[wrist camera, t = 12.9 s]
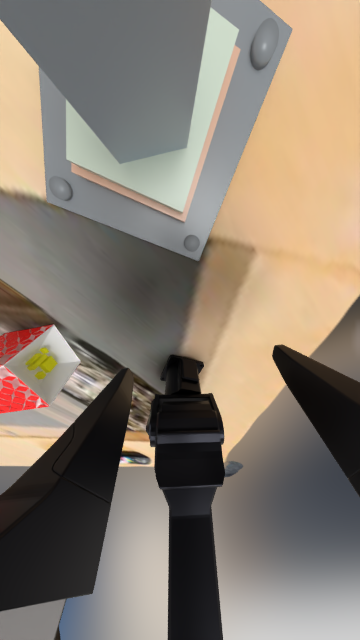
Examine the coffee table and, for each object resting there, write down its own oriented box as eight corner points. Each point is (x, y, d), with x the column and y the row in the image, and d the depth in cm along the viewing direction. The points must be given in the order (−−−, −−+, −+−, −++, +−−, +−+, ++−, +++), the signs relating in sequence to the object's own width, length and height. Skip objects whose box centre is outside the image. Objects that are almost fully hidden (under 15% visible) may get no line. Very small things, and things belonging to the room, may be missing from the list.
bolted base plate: (197, 260, 19) (203, 267, 15) (52, 202, 15) (17, 195, 12) (285, 41, 11) (335, -43, 8) (36, -167, 8) (-73, -480, 4)
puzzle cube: (81, 361, 27) (50, 406, 20) (39, 368, 27) (-5, 414, 20) (53, 323, 23) (2, 364, 16) (5, 332, 23) (-65, 375, 16)
